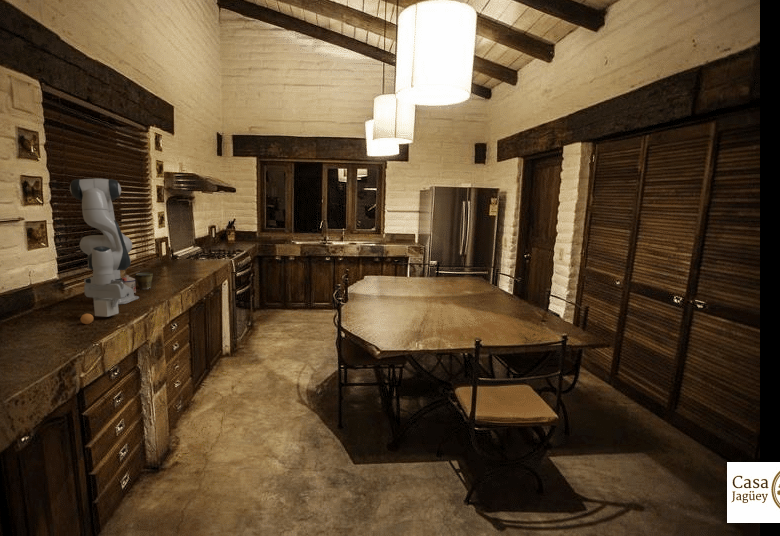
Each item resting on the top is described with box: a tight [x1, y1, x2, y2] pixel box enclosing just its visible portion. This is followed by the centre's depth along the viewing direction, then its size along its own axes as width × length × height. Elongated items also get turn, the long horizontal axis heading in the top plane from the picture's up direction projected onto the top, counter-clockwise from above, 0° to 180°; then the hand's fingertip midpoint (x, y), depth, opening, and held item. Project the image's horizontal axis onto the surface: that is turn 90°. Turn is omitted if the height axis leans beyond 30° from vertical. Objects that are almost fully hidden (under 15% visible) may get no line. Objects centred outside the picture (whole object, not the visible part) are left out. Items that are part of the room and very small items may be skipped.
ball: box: [80, 313, 94, 325], centre depth 195 cm, size 5×5×5 cm
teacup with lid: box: [123, 274, 137, 294], centre depth 261 cm, size 12×9×12 cm
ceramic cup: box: [135, 272, 154, 290], centre depth 276 cm, size 13×10×10 cm
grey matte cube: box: [93, 298, 120, 318], centre depth 206 cm, size 7×7×8 cm
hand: (106, 306), depth 206 cm, fingers closed on grey matte cube, 7 cm apart
